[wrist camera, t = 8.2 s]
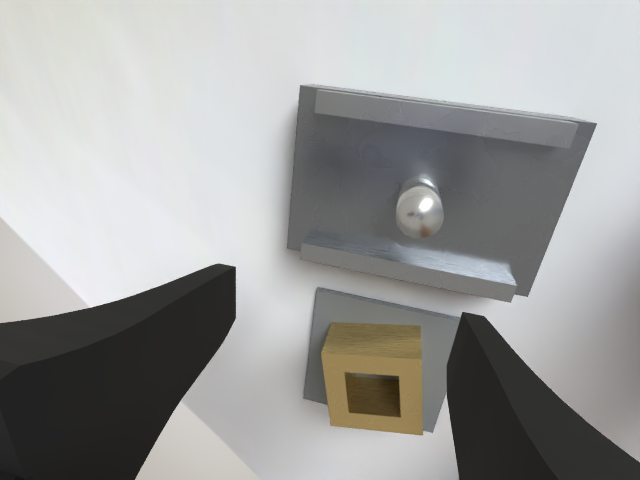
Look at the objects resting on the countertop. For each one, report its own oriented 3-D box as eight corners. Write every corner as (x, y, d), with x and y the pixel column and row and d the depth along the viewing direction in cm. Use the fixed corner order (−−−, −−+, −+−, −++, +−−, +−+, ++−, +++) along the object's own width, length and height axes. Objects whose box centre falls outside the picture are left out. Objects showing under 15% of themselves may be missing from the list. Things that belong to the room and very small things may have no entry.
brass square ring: (420, 325, 22) (421, 359, 20) (421, 395, 24) (422, 435, 22) (331, 322, 24) (321, 353, 21) (339, 389, 26) (330, 425, 23)
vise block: (572, 117, 17) (638, 133, 12) (514, 272, 20) (547, 335, 15) (313, 84, 19) (278, 86, 14) (299, 231, 22) (267, 274, 17)
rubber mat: (468, 319, 22) (469, 323, 22) (432, 427, 26) (432, 432, 25) (318, 287, 23) (316, 290, 23) (304, 394, 27) (303, 398, 27)
